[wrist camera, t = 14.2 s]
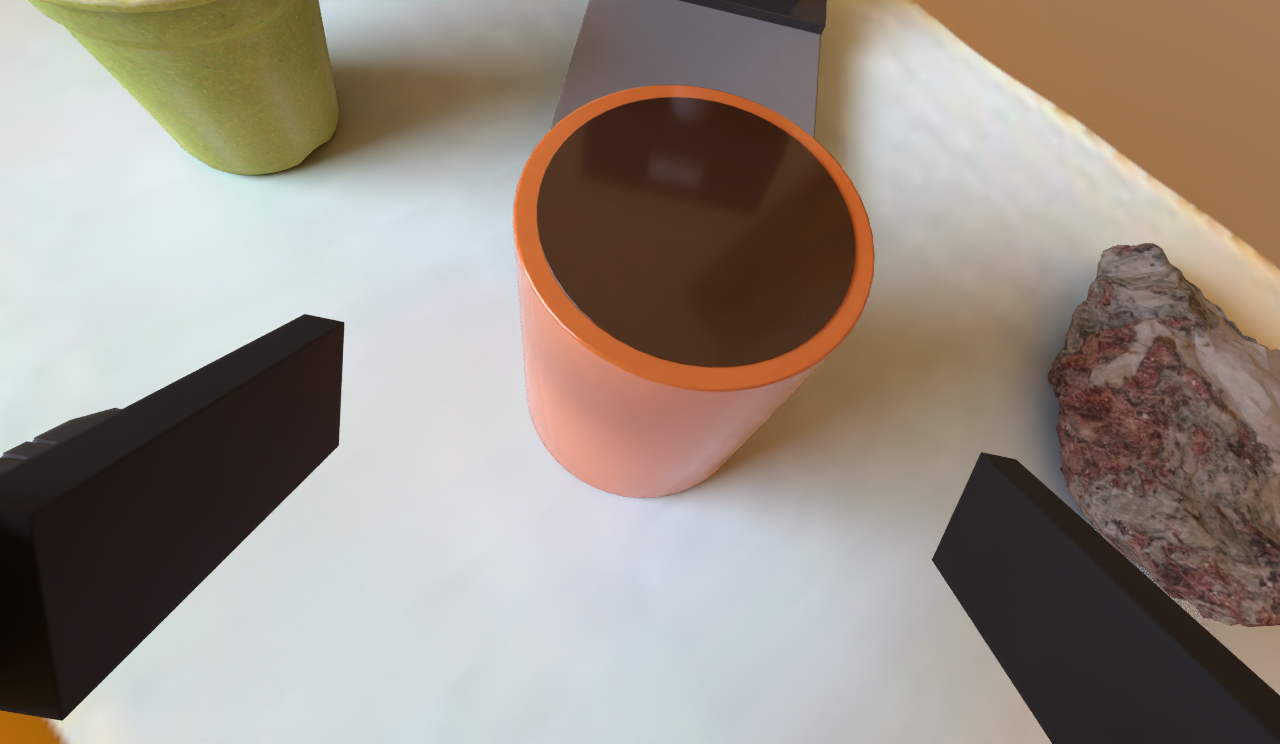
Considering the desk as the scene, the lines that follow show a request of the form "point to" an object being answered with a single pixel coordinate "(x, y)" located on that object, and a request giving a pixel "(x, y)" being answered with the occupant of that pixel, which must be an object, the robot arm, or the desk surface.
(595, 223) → the cup
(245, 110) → the plant pot
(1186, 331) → the mineral rock
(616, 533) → the desk surface
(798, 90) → the coffee maker
